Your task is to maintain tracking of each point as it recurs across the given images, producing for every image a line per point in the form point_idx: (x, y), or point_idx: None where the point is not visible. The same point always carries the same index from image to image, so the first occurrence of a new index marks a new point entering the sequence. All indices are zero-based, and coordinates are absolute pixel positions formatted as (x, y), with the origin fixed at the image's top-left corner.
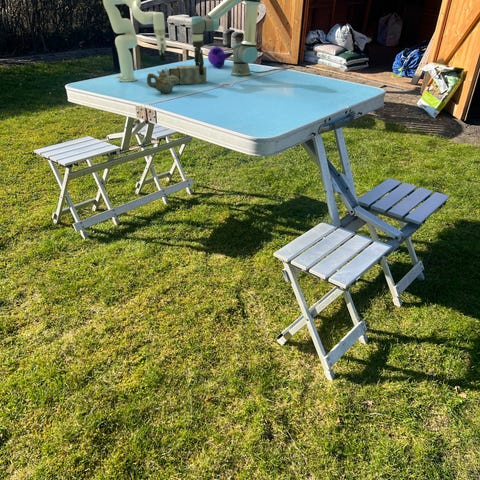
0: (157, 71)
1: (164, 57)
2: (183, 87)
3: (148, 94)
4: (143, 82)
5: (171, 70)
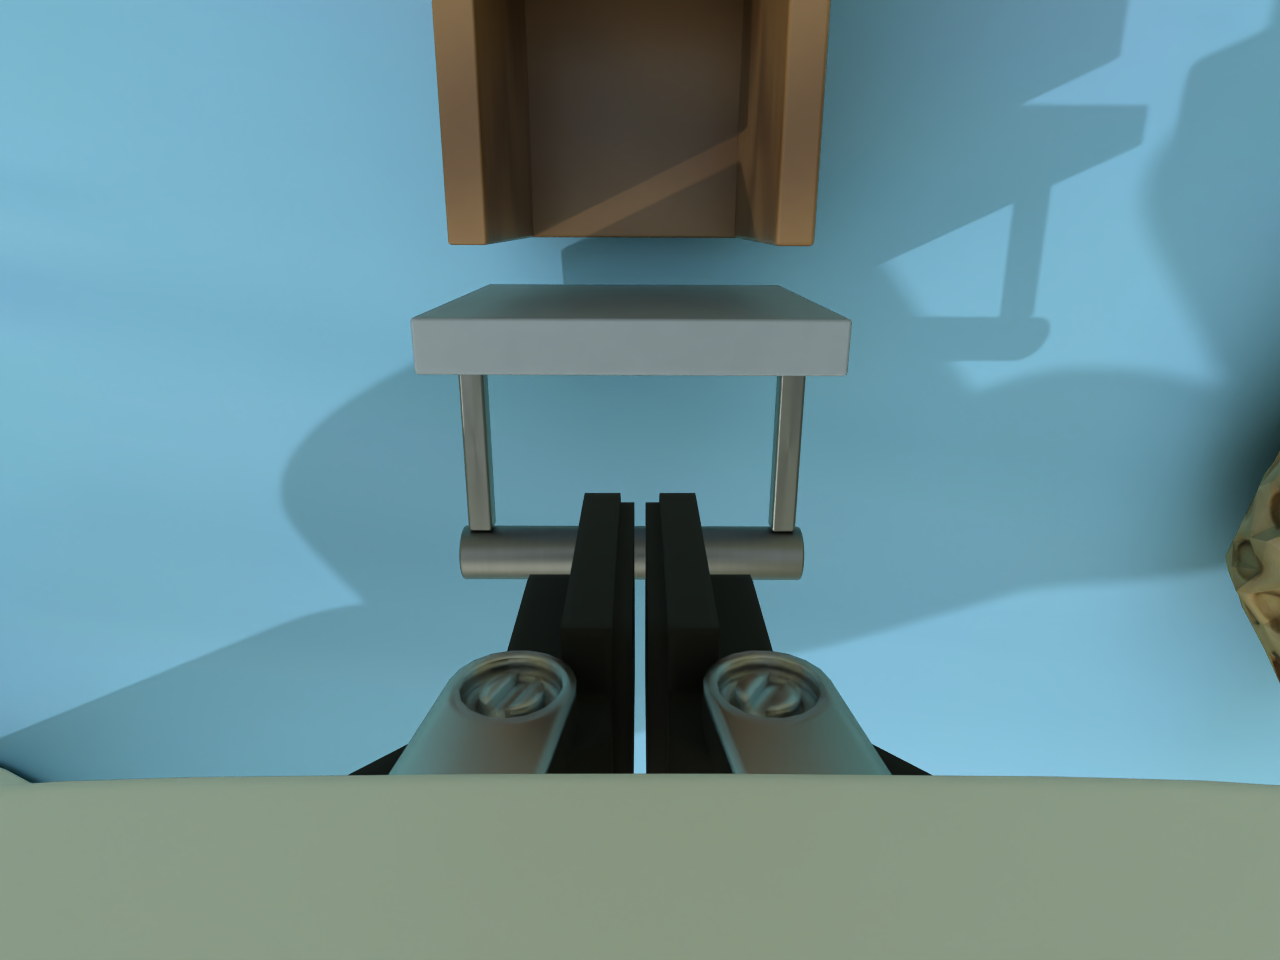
0: (472, 578)
1: (704, 570)
2: (1063, 11)
3: (1234, 739)
4: (219, 679)
5: (814, 224)
